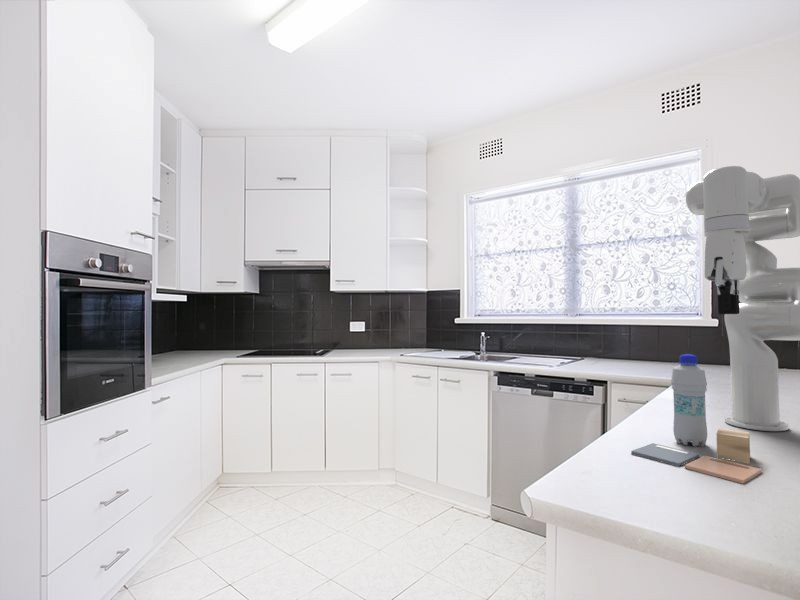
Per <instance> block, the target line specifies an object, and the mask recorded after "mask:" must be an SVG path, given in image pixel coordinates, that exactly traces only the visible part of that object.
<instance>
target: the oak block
mask: <svg viewBox="0 0 800 600" xmlns="http://www.w3.org/2000/svg"><path fill="white" fill-rule="evenodd" d="M750 435H751V434H750V432H748V431H740V430H735V429H733V430H732V429H727V428H718V429H717V432H716V457H718V458H717V459H720V458H724V459H723V460H725V459H730V460H729V461H731V460H735V461H734V462H737V461H739V462H738V463H742V462H743V464H747V465H748V464H750V461H751V443H750V441H751V440H750V439H751V437H750Z"/></svg>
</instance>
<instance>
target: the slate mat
mask: <svg viewBox="0 0 800 600" xmlns="http://www.w3.org/2000/svg"><path fill="white" fill-rule="evenodd" d="M630 451H631V452H630V453H631V455H634V454H635V455H634V456H639V457H642V458H645V459H649V460H652V461H653V460H654V461H656V460H658V461H657V462H660V461H662V462H661V463H664V462H665V463H664V464H668V463H669V464H668V465H671V464H673V465H672V466H675V465H676V467H681V466H683V465H682V464H684V463H686V462H688V463H690V462H692V461H694V460H696V459H695V458H697V457H699V458H700V453H696V452H691V451H688V450H683V449H678V448H675V447H670V446H666V445H662V444H658V443H654V442H652V443H649V444H647V445H644V446H641V447H638V448H636V449H632V450H630ZM693 459H694V460H693ZM697 459H698V458H697ZM691 460H692V461H691ZM689 461H690V462H689ZM686 464H687V463H686ZM680 465H681V466H680ZM684 465H685V464H684Z"/></svg>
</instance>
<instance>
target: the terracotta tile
mask: <svg viewBox="0 0 800 600" xmlns="http://www.w3.org/2000/svg"><path fill="white" fill-rule="evenodd" d="M686 468H687V469H686ZM684 469H686V470H691V471H694V472H698V473H701V474H706V475H709V476H713V477H715V478H716V477H717V478H719V479H720V478H721V479H724V480H728V481H731V482H735V483H739V484H745V483H747V482H748V481H750V480H752V479H753V478H755V477H756V476H758V475H759V474H761V473H762V472H763V471H762V468H759V467H756V466H750V465H748V464H747V465H746V464H744V463H743V464H742V463H739V462H735V461H731V460H725V459H720V458H716V457H712V456H708V455H703V456H700V457H699V458H697V459H694V460H692V461H690V462H688V463H686V464H684Z"/></svg>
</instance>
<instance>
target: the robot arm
mask: <svg viewBox="0 0 800 600" xmlns="http://www.w3.org/2000/svg"><path fill="white" fill-rule="evenodd" d="M685 204H686V206H687V209H688V210H689V211H690V213H692V214H693V215H695V216H703V225H704V226H703V230H704V237H706V239H705V244H704V245H705V247H704V248H705V249H704V279H706V280H708V282H709V281H710V282H714V284H715V286H716V289H717V291H716V292H717V307H718V308H717V309H718V310H717V311H718V312H717V313H718V314H719V315H724V325H725V328H726V333H727V339H728V344H729V345H728V346H729V357H730V358H729V363H730V364H729V367H730V368H729V369H730V394H731V395H730V396H731V397H730V398H731V401H730V402H731V414H729V415H726V416H724V422H725V423H727V424H729V425H731V426H733V427H734V426H735V427H737V428H742V429H743V428H744V429H748V430H753V431H763V432H785V431H788V430H789V424H788V423H787V422H785V421H782V420H781V417H780V415H781V414H780V410H781V409H780V386H779V384H780V383H779V381H780V380H779V359H778V356H777V354H776V353H775V351H773V349H771V347H769V346H768V345H767V344H766V343H765V342H764V341H771V340H772V341H800V267H783V268H781V267H779V268H777V267H778V258H777V257H776V255H775V254H774V253H773V252H772V251H770V250H769V249H768V248H766V247H765V246H763V245H761V244H760V243H758V242H762V241H772V240H782V239H783V240H785V239H792V238H797V237H800V178H799V177H798V176H797V175H795V174H792V173H790V174H788V173H787V174H782V175H776V176H770V177H764V178H763V177H762V176H761V175H759V174H758V173H755V172H753V171H747V169H746V168H745V167H743V166H740V165H739V166H738V165H737V166H736V165H731V166H730V165H729V166H722V167H718V168H714V169H712V170H710V171H708V172H707V173H706V174H705V175H704V176H703V178H702V181H697V182H694V183H692V184H690V186H688V189H687V191H686V193H685Z"/></svg>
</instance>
